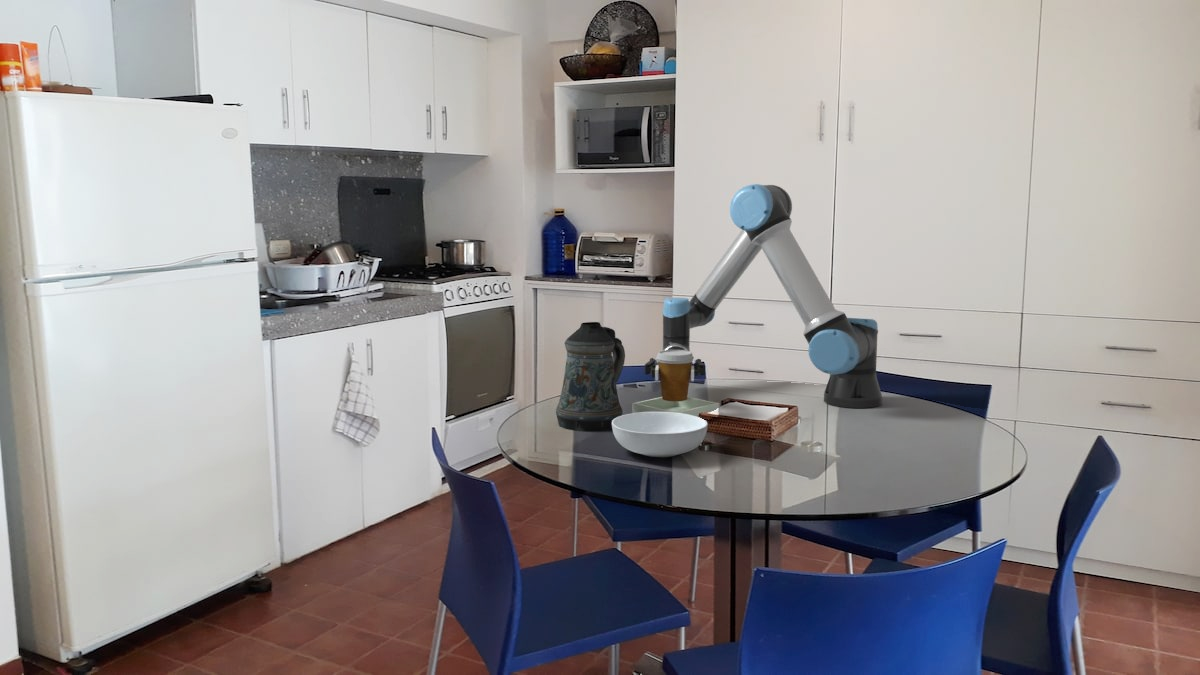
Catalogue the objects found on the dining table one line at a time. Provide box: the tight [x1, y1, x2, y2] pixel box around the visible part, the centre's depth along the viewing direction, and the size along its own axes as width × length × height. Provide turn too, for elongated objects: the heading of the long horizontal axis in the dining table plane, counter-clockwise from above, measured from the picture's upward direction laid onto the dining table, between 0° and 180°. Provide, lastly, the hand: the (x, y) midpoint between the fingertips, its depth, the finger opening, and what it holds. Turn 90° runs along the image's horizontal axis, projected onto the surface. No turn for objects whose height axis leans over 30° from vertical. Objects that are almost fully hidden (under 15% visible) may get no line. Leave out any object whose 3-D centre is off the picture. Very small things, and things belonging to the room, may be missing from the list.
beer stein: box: [555, 321, 626, 432], centre depth 221 cm, size 16×19×25 cm
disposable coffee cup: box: [655, 349, 695, 402], centre depth 226 cm, size 10×10×12 cm
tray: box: [631, 396, 720, 417], centre depth 227 cm, size 16×16×4 cm
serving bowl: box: [611, 412, 709, 458], centre depth 195 cm, size 21×21×7 cm
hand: (674, 375), depth 221 cm, fingers closed on disposable coffee cup, 8 cm apart
